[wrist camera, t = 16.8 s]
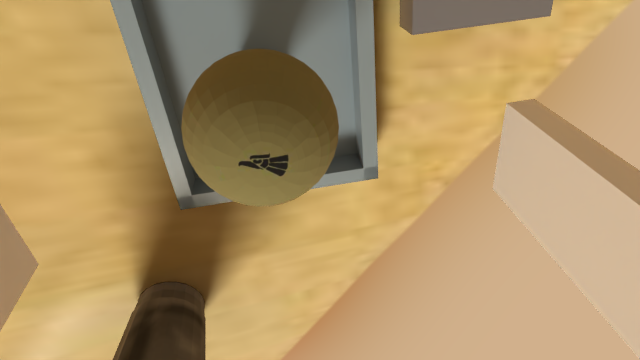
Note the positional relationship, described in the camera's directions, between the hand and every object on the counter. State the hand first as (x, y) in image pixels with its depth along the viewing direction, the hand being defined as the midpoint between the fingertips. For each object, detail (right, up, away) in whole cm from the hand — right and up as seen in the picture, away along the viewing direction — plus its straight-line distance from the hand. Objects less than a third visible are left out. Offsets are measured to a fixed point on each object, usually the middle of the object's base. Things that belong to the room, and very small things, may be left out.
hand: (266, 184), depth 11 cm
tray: (-2, +6, +11) cm, 13 cm away
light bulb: (-2, +6, +10) cm, 12 cm away
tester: (+9, +12, +9) cm, 17 cm away
